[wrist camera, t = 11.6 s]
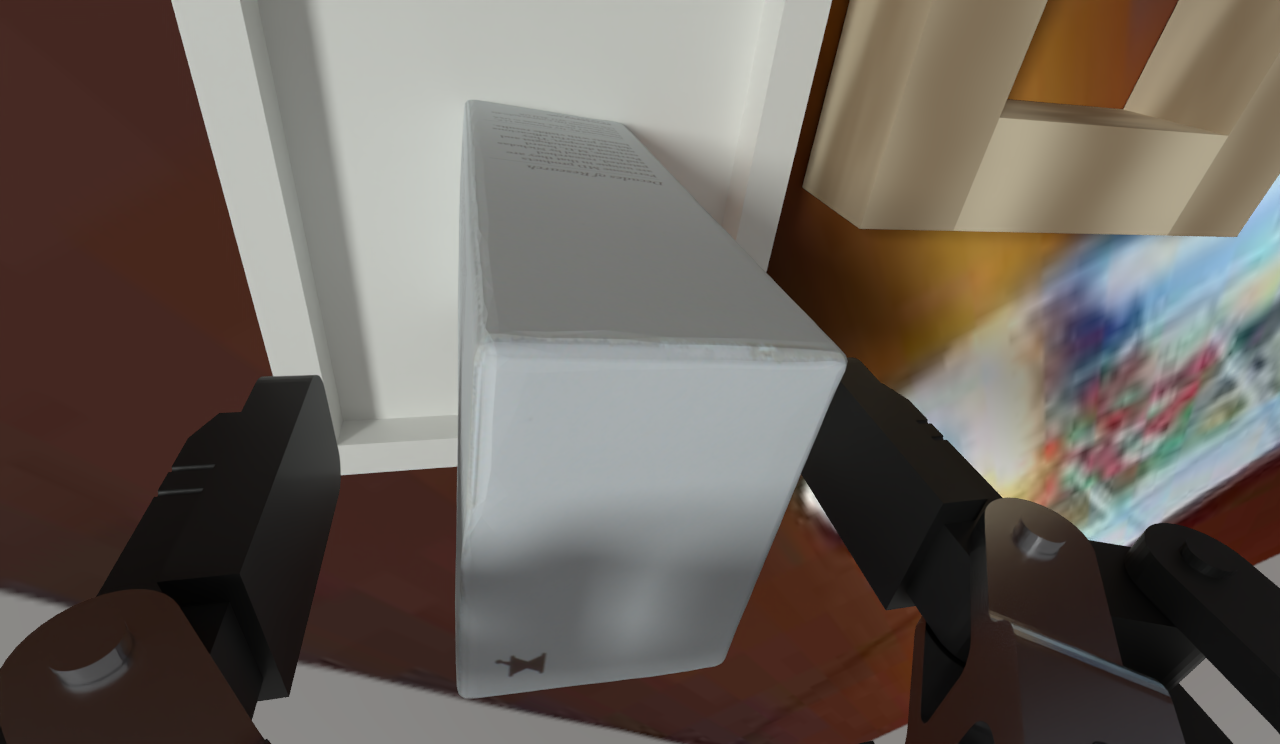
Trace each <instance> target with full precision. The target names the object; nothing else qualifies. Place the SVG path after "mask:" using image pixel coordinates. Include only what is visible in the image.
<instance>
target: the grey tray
mask: <svg viewBox="0 0 1280 744" xmlns="http://www.w3.org/2000/svg"><path fill="white" fill-rule="evenodd" d="M171 1H172V5H173V8H174V12H175V16H176V19H177V23H178V27H179V30H180V34H181V38H182V41H183V45H184V49H185V53H186V56H187V60H188V64H189V67H190V71H191V75H192V78H193V82H194V86H195V89H196V93H197V97H198V100H199V104H200V108H201V112H202V115H203V119H204V123H205V126H206V130H207V134H208V137H209V141H210V145H211V148H212V152H213V156H214V159H215V163H216V167H217V171H218V174H219V178H220V182H221V185H222V189H223V193H224V196H225V200H226V204H227V207H228V211H229V215H230V218H231V222H232V226H233V229H234V233H235V237H236V241H237V244H238V248H239V252H240V255H241V259H242V263H243V266H244V270H245V274H246V277H247V281H248V285H249V288H250V292H251V296H252V300H253V303H254V307H255V311H256V314H257V318H258V322H259V325H260V329H261V333H262V336H263V340H264V344H265V347H266V351H267V355H268V359H269V362H270V366H271V370H272V373H273V376H298V375H318V376H320V378H321V379H322V381H323V384H324V388H325V392H326V396H327V401H328V405H329V410H330V414H331V419H332V423H333V428H334V432H335V437H336V441H337V446H338V450H339V456H340V466H341V475H349V474H362V473H375V472H389V471H402V470H415V469H429V468H442V467H455V466H457V449H458V263H459V205H460V173H461V153H462V135H463V119H464V106H465V103H466V102H467V100H480V101H486V102H492V103H499V104H505V105H511V106H517V107H524V108H530V109H537V110H543V111H549V112H555V113H561V114H567V115H573V116H579V117H584V118H590V119H598V120H607V121H614V122H618V123H622V124H623V125H625V126H626V127H627V129H628V130H629V131H630V132H632V134H633V135H634V136H635V137H636V138H637V139H638V140H639V141H640V142H641V143H642V144H643V145H644V146H645V147H646V148H647V149H648V150H649V151H650V152H651V153H652V154H653V155H654V157H655V158H657V159H658V160H659V162H660V163H661V164H662V165H663V166H664V167H665V168H666V169H667V170H668V171H669V172H670V173H671V174H672V175H673V176H674V177H675V178H676V179H677V180H678V181H679V182H680V183H681V184H682V186H683V187H684V188H685V189H686V190H687V191H688V192H689V193H690V194H691V195H692V196H693V197H694V198H695V199H696V200H697V201H698V203H699V204H700V205H701V206H702V207H703V208H704V209H705V210H706V211H707V212H708V213H709V214H710V215H711V216H712V217H713V218H714V219H715V220H716V221H717V222H718V223H719V224H720V225H721V226H722V227H723V228H724V229H725V230H726V231H727V232H728V233H729V234H730V235H731V236H732V238H733V239H734V240H735V241H736V242H737V243H738V244H739V245H740V246H741V247H742V248H743V249H744V250H745V251H746V252H747V253H748V254H749V255H750V256H751V257H752V258H753V259H754V260H755V261H756V263H757V264H758V265H759V266H760V267H761V268H762V269H763V270H764V271H765V272H767V268H768V263H769V259H770V255H771V251H772V247H773V243H774V239H775V234H776V230H777V226H778V222H779V218H780V214H781V210H782V206H783V201H784V197H785V193H786V189H787V185H788V181H789V177H790V172H791V168H792V164H793V160H794V156H795V152H796V148H797V143H798V139H799V135H800V131H801V127H802V123H803V119H804V115H805V110H806V106H807V102H808V98H809V94H810V90H811V86H812V81H813V77H814V73H815V69H816V65H817V61H818V57H819V52H820V48H821V44H822V40H823V36H824V32H825V28H826V24H827V19H828V15H829V11H830V7H831V3H832V0H171Z"/></svg>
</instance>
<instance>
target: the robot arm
mask: <svg viewBox="0 0 1280 744" xmlns="http://www.w3.org/2000/svg"><path fill="white" fill-rule="evenodd" d="M847 360H848V362H847V366H846V370H845V373H844V375H843V377H842V379H841V381H840V383H839V385H838V387H837V389H836V392H835V394H834V396H833V399H832V401H831V403H830V405H829V408H828V410H827V412H826V415H825V417H824V420H823V422H822V424H821V427H820V429H819V432H818V434H817V437H816V439H815V441H814V444H813V446H812V449H811V451H810V453H809V456H808V458H807V460H806V463H805V465H804V468H803V470H802V472H801V474H802V476H803V478H804V479H805V481H806V482H807V484H808V486H809V487H810V489H811V490H812V492H813V494H814V495H815V497H816V498H817V500H818V502H819V503H820V505H821V507H822V508H823V510H824V511H825V513H826V515H827V516H828V518H829V519H830V521H831V523H832V524H833V526H834V528H835V529H836V531H837V532H838V534H839V536H840V537H841V539H842V540H843V542H844V544H845V545H846V547H847V548H848V550H849V552H850V553H851V555H852V557H853V558H854V560H855V561H856V563H857V565H858V566H859V568H860V569H861V571H862V573H863V574H864V576H865V577H866V579H867V581H868V582H869V584H870V586H871V587H872V589H873V590H874V592H875V594H876V595H877V597H878V598H879V600H880V602H881V603H882V605H883V606H884V608H885V610H891V609H898V608H905V607H911V606H916V607H917V609H918V610H919V612H920V613H921V615H922V617H921V618H920V620H919V622H918V623H917V626H916V629H915V636H914V649H913V662H912V676H911V689H910V702H909V716H908V729H907V737H906V742H905V744H1233V743H1232V742H1231V741H1230V739H1228V737H1227V736H1226V735H1225V734H1224V733H1223V732H1222V731H1221V729H1220V728H1219V727H1218V726H1217V725H1216V724H1215V723H1214V722H1213V721H1212V719H1211V718H1210V717H1209V716H1208V715H1207V714H1206V713H1205V712H1204V711H1203V709H1202V708H1201V707H1200V706H1199V705H1198V704H1197V703H1196V702H1195V701H1194V699H1193V698H1192V697H1191V696H1190V695H1189V694H1188V693H1187V692H1186V691H1185V690H1184V688H1183V687H1182V686H1181V685H1180V684H1179V682H1180V681H1181V680H1182V679H1183V678H1185V677H1186V676H1187V675H1188V674H1189V673H1190V672H1191V671H1192V670H1193V669H1194V668H1195V667H1196V666H1197V665H1199V664H1200V663H1201V662H1202V661H1203V660H1204V659H1205V658H1207V659H1208V660H1209V661H1210V662H1211V663H1212V664H1213V665H1214V666H1215V667H1216V668H1217V669H1218V670H1219V671H1220V672H1221V673H1222V674H1223V675H1224V676H1225V678H1226V679H1227V680H1228V681H1230V683H1231V684H1232V685H1233V686H1234V687H1235V688H1236V689H1237V690H1238V691H1239V692H1240V693H1241V694H1242V695H1243V696H1244V697H1245V698H1246V699H1247V700H1248V701H1249V702H1250V703H1251V704H1252V705H1253V706H1254V707H1255V708H1256V709H1257V710H1258V711H1259V712H1260V713H1261V715H1263V717H1264V718H1265V719H1266V720H1267V721H1268V722H1269V723H1270V724H1271V725H1272V726H1273V727H1274V728H1275V729H1276V730H1277V731H1278V733H1279V734H1280V588H1279V587H1277V586H1276V585H1275V584H1274V583H1273V582H1272V581H1270V580H1269V579H1268V578H1267V577H1265V576H1264V575H1263V574H1262V573H1261V572H1260V571H1258V570H1257V569H1256V568H1255V567H1254V566H1253V565H1251V564H1250V563H1249V562H1248V561H1247V560H1245V559H1244V558H1243V557H1242V556H1240V555H1239V554H1238V553H1236V552H1235V551H1234V550H1232V549H1231V548H1229V547H1228V546H1226V545H1224V544H1223V543H1221V542H1219V541H1217V540H1216V539H1214V538H1212V537H1210V536H1208V535H1206V534H1203V533H1201V532H1199V531H1196V530H1193V529H1190V528H1188V527H1184V526H1180V525H1176V524H1169V523H1159V524H1154V525H1151V526H1149V527H1148V528H1147V529H1146V530H1145V531H1144V533H1143V534H1142V535H1141V536H1140V538H1139V539H1138V540H1137V541H1136V542H1135V544H1134V545H1133V546H1132V547H1126V546H1120V545H1114V544H1108V543H1102V542H1096V541H1090V540H1088V539H1087V538H1086V537H1085V535H1084V534H1083V533H1082V532H1081V531H1080V530H1079V529H1078V528H1077V527H1076V526H1074V525H1073V524H1072V523H1071V522H1070V521H1068V520H1067V519H1065V518H1064V517H1062V516H1061V515H1059V514H1058V513H1056V512H1054V511H1052V510H1050V509H1048V508H1046V507H1044V506H1042V505H1039V504H1037V503H1034V502H1031V501H1027V500H1023V499H1018V498H1002V497H1001V496H1000V495H999V494H998V493H997V492H996V491H995V490H994V488H993V487H992V486H991V485H990V484H989V483H988V482H987V481H986V480H985V479H984V478H983V477H982V476H981V475H980V474H979V473H978V472H977V471H976V470H975V469H974V468H973V467H972V465H971V464H970V463H969V462H968V461H967V460H966V459H965V458H964V457H963V456H962V455H961V454H960V453H959V452H958V451H957V450H956V449H955V448H954V447H953V446H952V445H951V444H950V443H949V441H948V440H943V435H942V434H941V433H940V432H939V431H938V430H937V429H936V428H935V427H934V426H933V425H932V424H928V423H927V419H926V417H925V416H924V415H923V414H922V413H921V412H920V411H919V410H918V409H917V408H916V407H915V406H914V405H913V404H912V403H911V402H910V401H909V400H908V399H906V398H905V397H903V396H902V395H900V394H898V393H897V392H895V391H894V390H892V389H890V388H889V387H887V386H886V385H884V384H883V383H882V384H881V383H880V382H879V381H878V380H877V378H876V377H875V376H874V375H873V374H872V373H871V372H870V371H869V370H868V369H867V368H866V367H865V366H864V364H863V363H862V362H861V361H859V360H858V359H856V358H853V357H852V358H847ZM340 479H341V466H340V456H339V450H338V446H337V441H336V437H335V432H334V428H333V423H332V419H331V414H330V410H329V405H328V401H327V396H326V392H325V388H324V384H323V381H322V379H321V378H320V376H318V375H298V376H269V377H260V378H259V379H258V380H257V382H256V384H255V386H254V388H253V390H252V392H251V394H250V396H249V398H248V400H247V402H246V404H245V406H244V408H243V410H242V412H234V413H219V414H218V415H216V416H215V417H214V418H213V419H211V420H210V421H209V422H208V423H206V424H205V425H204V426H203V427H201V428H200V429H199V430H198V431H197V432H195V433H194V434H193V435H192V436H190V437H189V438H188V440H187V441H186V443H185V445H184V446H183V448H182V450H181V452H180V453H179V455H178V457H177V458H176V460H175V462H174V464H173V465H172V472H168V474H167V476H166V477H165V479H164V481H163V483H162V484H161V486H160V488H159V490H158V497H154V498H153V500H152V502H151V503H150V505H149V507H148V509H147V510H146V512H145V514H144V515H143V517H142V519H141V521H140V522H139V524H138V526H137V528H136V529H135V531H134V533H133V534H132V536H131V538H130V540H129V541H128V543H127V545H126V547H125V548H124V550H123V552H122V553H121V555H120V557H119V559H118V560H117V562H116V564H115V566H114V567H113V569H112V571H111V572H110V574H109V576H108V578H107V579H106V581H105V583H104V585H103V586H102V588H101V590H100V591H99V593H98V595H97V596H96V597H94V598H91V599H88V600H86V601H83V602H81V603H79V604H77V605H74V606H72V607H70V608H68V609H67V610H65V611H63V612H61V613H60V614H57V615H56V616H54V617H53V618H51V619H50V620H48V621H47V622H45V623H44V624H42V625H41V626H40V627H38V628H37V629H36V630H35V631H33V632H32V633H31V634H30V635H28V636H27V637H26V638H25V639H24V640H23V641H22V642H21V643H20V644H19V645H18V646H17V647H16V648H15V649H14V651H13V652H12V653H11V654H10V656H9V657H8V658H7V659H6V661H5V662H4V664H3V666H2V667H1V668H0V744H271V743H270V742H269V741H268V740H267V739H266V740H264V738H263V737H262V735H261V734H260V733H259V731H258V730H257V728H256V727H255V725H254V723H253V722H252V718H253V714H254V710H255V707H256V703H257V701H263V700H270V699H277V698H283V697H289V694H290V690H291V686H292V682H293V678H294V673H295V670H296V666H297V662H298V658H299V654H300V650H301V646H302V641H303V637H304V633H305V629H306V625H307V621H308V617H309V613H310V609H311V605H312V601H313V597H314V593H315V589H316V584H317V580H318V576H319V572H320V568H321V564H322V560H323V556H324V552H325V548H326V544H327V540H328V536H329V532H330V528H331V523H332V519H333V515H334V511H335V507H336V503H337V499H338V495H339V489H340ZM860 744H874V742H873V741H869V742H864V743H860Z"/></svg>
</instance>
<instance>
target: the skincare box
mask: <svg viewBox="0 0 1280 744" xmlns="http://www.w3.org/2000/svg"><path fill="white" fill-rule="evenodd" d="M847 362H848V360H847V358H846V355H845V354H844V353H843V352H842V350H841V349H840V348H839V347H838V346H837V345H836V344H835V343H834V342H833V341H832V340H831V339H830V338H829V337H828V336H827V335H826V334H825V333H824V332H823V331H822V330H821V329H820V328H819V327H818V326H817V325H816V323H815V322H814V321H813V320H812V319H811V318H810V317H809V316H808V315H807V314H806V313H805V312H804V311H803V310H802V309H801V308H800V307H799V306H798V305H797V304H796V303H795V302H794V301H793V300H792V299H791V298H790V297H789V296H788V295H787V294H786V293H785V292H784V291H783V290H782V289H781V288H780V286H779V285H778V284H777V283H776V282H775V281H774V280H773V279H772V278H771V277H770V276H769V275H768V274H767V273H766V272H765V271H764V270H763V269H762V268H761V267H760V266H759V265H758V264H757V263H756V261H755V260H754V259H753V258H752V257H751V256H750V255H749V254H748V253H747V252H746V251H745V250H744V249H743V248H742V247H741V246H740V245H739V244H738V243H737V242H736V241H735V240H734V239H733V238H732V236H731V235H730V234H729V233H728V232H727V231H726V230H725V229H724V228H723V227H722V226H721V225H720V224H719V223H718V222H717V221H716V220H715V219H714V218H713V217H712V216H711V215H710V214H709V213H708V212H707V211H706V210H705V209H704V208H703V207H702V206H701V205H700V204H699V203H698V201H697V200H696V199H695V198H694V197H693V196H692V195H691V194H690V193H689V192H688V191H687V190H686V189H685V188H684V187H683V186H682V184H681V183H680V182H679V181H678V180H677V179H676V178H675V177H674V176H673V175H672V174H671V173H670V172H669V171H668V170H667V169H666V168H665V167H664V166H663V165H662V164H661V163H660V162H659V160H658V159H657V158H655V157H654V155H653V154H652V153H651V152H650V151H649V150H648V149H647V148H646V147H645V146H644V145H643V144H642V143H641V142H640V141H639V140H638V139H637V138H636V137H635V136H634V135H633V134H632V132H630V131H629V130H628V129H627V127H626V126H625V125H623V124H622V123H618V122H614V121H607V120H598V119H590V118H584V117H579V116H573V115H567V114H561V113H555V112H549V111H543V110H537V109H530V108H524V107H517V106H511V105H505V104H499V103H492V102H486V101H480V100H467V102H466V103H465V106H464V119H463V135H462V153H461V173H460V205H459V263H458V449H457V535H456V591H455V616H456V673H457V689H458V692H459V694H460V695H461V696H462V697H464V698H481V697H489V696H497V695H505V694H513V693H521V692H528V691H536V690H544V689H551V688H559V687H567V686H576V685H584V684H593V683H602V682H610V681H618V680H625V679H633V678H642V677H652V676H658V675H665V674H671V673H678V672H685V671H690V670H696V669H701V668H707V667H714V666H717V665H719V664H721V663H722V662H723V661H724V659H725V657H726V654H727V652H728V649H729V647H730V644H731V641H732V639H733V636H734V634H735V631H736V629H737V626H738V624H739V621H740V619H741V617H742V614H743V612H744V610H745V607H746V605H747V603H748V600H749V598H750V596H751V593H752V591H753V588H754V585H755V583H756V581H757V578H758V576H759V573H760V571H761V569H762V566H763V564H764V562H765V559H766V557H767V554H768V552H769V550H770V547H771V545H772V542H773V540H774V538H775V535H776V533H777V530H778V528H779V525H780V523H781V521H782V518H783V516H784V513H785V511H786V508H787V506H788V504H789V501H790V499H791V496H792V494H793V491H794V489H795V487H796V484H797V482H798V479H799V477H800V475H801V472H802V470H803V468H804V465H805V463H806V460H807V458H808V456H809V453H810V451H811V449H812V446H813V444H814V441H815V439H816V437H817V434H818V432H819V429H820V427H821V424H822V422H823V420H824V417H825V415H826V412H827V410H828V408H829V405H830V403H831V401H832V399H833V396H834V394H835V392H836V389H837V387H838V385H839V383H840V381H841V379H842V377H843V375H844V373H845V370H846V366H847Z"/></svg>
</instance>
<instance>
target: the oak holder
mask: <svg viewBox="0 0 1280 744" xmlns="http://www.w3.org/2000/svg"><path fill="white" fill-rule="evenodd" d="M1047 1H1048V0H850V2H849V6H848V10H847V14H846V18H845V22H844V25H843V29H842V33H841V37H840V41H839V45H838V49H837V53H836V57H835V61H834V65H833V68H832V72H831V76H830V80H829V84H828V88H827V92H826V96H825V100H824V104H823V108H822V111H821V115H820V119H819V123H818V127H817V131H816V135H815V139H814V143H813V147H812V151H811V155H810V158H809V162H808V166H807V170H806V174H805V178H804V182H803V186H802V188H804V189H805V190H806V191H808V192H809V193H811V194H812V195H813V196H815V197H816V198H818V199H819V200H820V201H822V202H823V203H824V204H826V205H827V206H829V207H830V208H831V209H833V210H834V211H836V212H837V213H838V214H840V215H841V216H843V217H844V218H845V219H847V220H848V221H850V222H851V223H852V224H854V225H855V226H856V227H858V228H859V229H895V230H941V231H986V232H1032V233H1078V234H1124V235H1170V236H1216V237H1237V235H1238V234H1239V233H1240V231H1241V230H1242V228H1243V227H1244V225H1245V224H1246V222H1247V221H1248V219H1249V218H1250V216H1251V215H1252V213H1253V212H1254V211H1255V209H1256V208H1257V206H1258V205H1259V203H1260V202H1261V200H1262V199H1263V197H1264V196H1265V194H1266V193H1267V191H1268V190H1269V188H1270V187H1271V186H1272V184H1273V183H1274V181H1275V180H1276V178H1277V177H1278V175H1279V174H1280V0H1179V1H1178V3H1177V5H1176V7H1175V9H1174V11H1173V13H1172V15H1171V17H1170V19H1169V21H1168V23H1167V25H1166V27H1165V29H1164V31H1163V33H1162V35H1161V37H1160V39H1159V41H1158V43H1157V45H1156V46H1155V48H1154V50H1153V52H1152V54H1151V56H1150V58H1149V60H1148V62H1147V64H1146V66H1145V68H1144V70H1143V72H1142V74H1141V76H1140V78H1139V80H1138V82H1137V84H1136V86H1135V88H1134V90H1133V91H1132V93H1131V95H1130V97H1129V99H1128V101H1127V103H1126V105H1125V107H1124V109H1112V108H1100V107H1089V106H1078V105H1067V104H1055V103H1044V102H1033V101H1021V100H1010V99H1007V98H1008V96H1009V93H1010V91H1011V89H1012V86H1013V84H1014V81H1015V79H1016V76H1017V74H1018V71H1019V69H1020V67H1021V64H1022V62H1023V59H1024V57H1025V54H1026V52H1027V49H1028V47H1029V45H1030V42H1031V40H1032V37H1033V35H1034V32H1035V30H1036V27H1037V25H1038V23H1039V20H1040V18H1041V15H1042V13H1043V10H1044V8H1045V5H1046V3H1047Z"/></svg>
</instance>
